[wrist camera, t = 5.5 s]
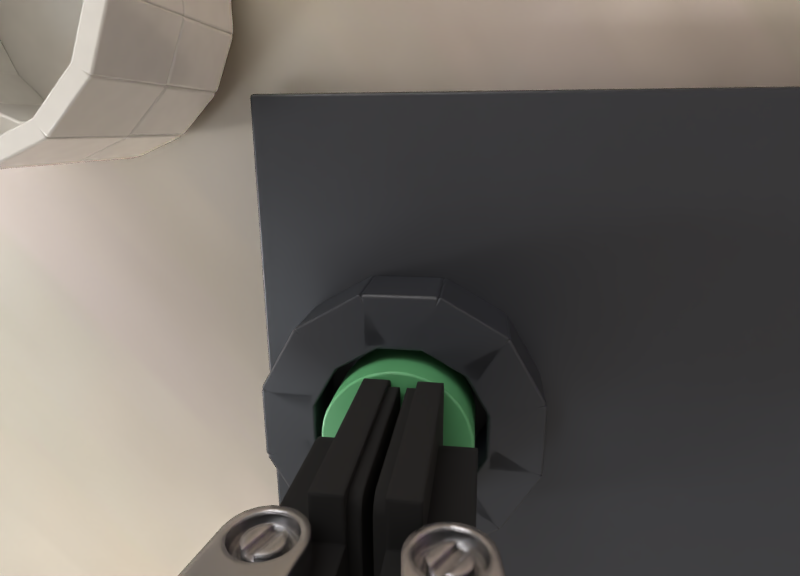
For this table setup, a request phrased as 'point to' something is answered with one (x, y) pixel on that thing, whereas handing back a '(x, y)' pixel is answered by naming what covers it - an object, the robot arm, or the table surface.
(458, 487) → the robot arm
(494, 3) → the table surface
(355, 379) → the button
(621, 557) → the scale
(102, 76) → the bowl
